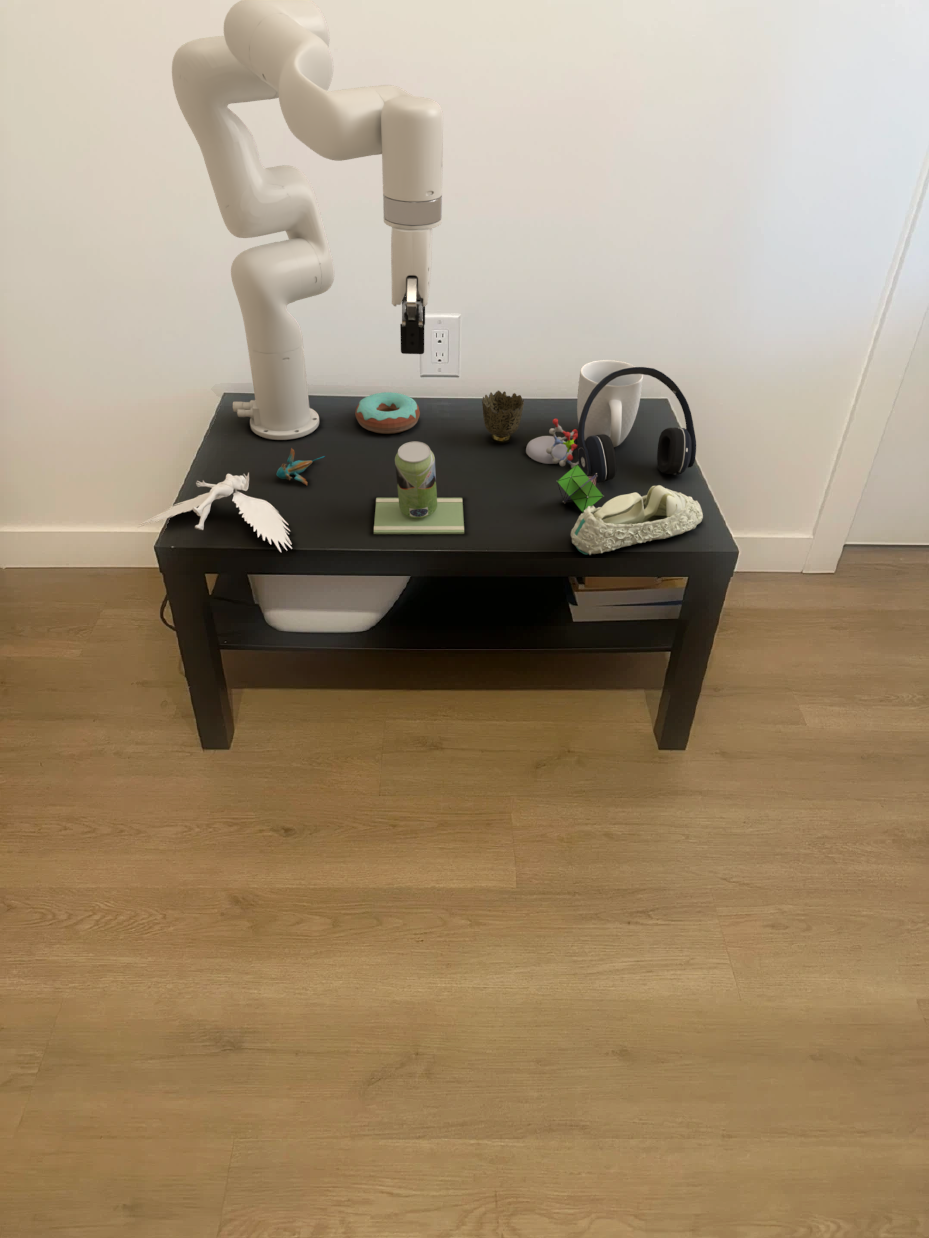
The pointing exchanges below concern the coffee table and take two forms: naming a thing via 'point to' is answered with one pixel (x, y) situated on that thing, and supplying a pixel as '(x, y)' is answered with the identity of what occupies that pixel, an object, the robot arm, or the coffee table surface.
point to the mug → (609, 400)
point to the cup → (502, 415)
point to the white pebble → (539, 446)
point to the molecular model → (569, 444)
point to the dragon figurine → (294, 468)
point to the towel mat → (439, 522)
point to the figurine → (251, 508)
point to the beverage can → (416, 480)
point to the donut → (387, 413)
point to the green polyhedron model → (580, 488)
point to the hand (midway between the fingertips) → (413, 338)
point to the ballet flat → (635, 520)
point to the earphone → (672, 445)
